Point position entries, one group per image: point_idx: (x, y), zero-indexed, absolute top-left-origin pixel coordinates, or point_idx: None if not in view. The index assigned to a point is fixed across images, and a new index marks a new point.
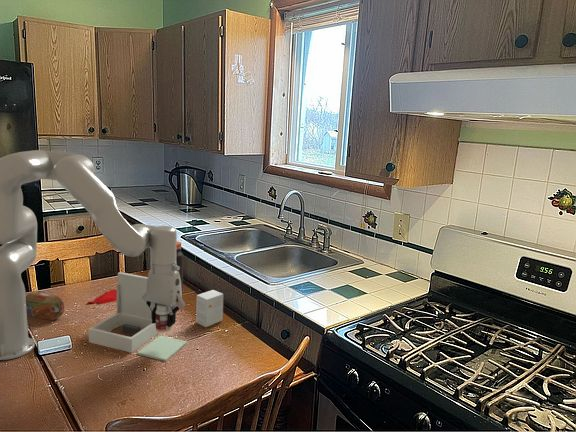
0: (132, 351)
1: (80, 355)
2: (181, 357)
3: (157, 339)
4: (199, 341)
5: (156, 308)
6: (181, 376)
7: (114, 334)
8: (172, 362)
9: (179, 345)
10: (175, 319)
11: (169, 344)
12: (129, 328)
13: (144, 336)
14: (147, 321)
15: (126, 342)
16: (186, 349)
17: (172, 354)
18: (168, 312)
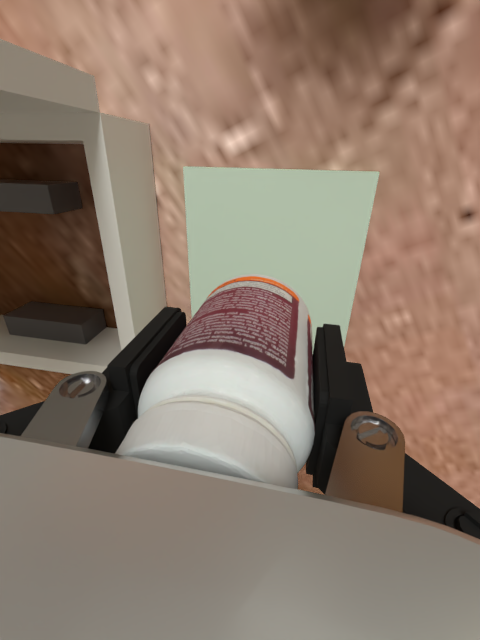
0: None
1: (47, 397)
2: (396, 322)
3: (198, 219)
4: (459, 105)
5: (124, 424)
6: (445, 439)
7: (47, 366)
8: (369, 367)
9: (348, 237)
10: (363, 377)
11: (288, 247)
12: (12, 210)
13: (145, 275)
14: (38, 140)
15: None
16: (397, 242)
17: (347, 327)
18: (299, 467)
